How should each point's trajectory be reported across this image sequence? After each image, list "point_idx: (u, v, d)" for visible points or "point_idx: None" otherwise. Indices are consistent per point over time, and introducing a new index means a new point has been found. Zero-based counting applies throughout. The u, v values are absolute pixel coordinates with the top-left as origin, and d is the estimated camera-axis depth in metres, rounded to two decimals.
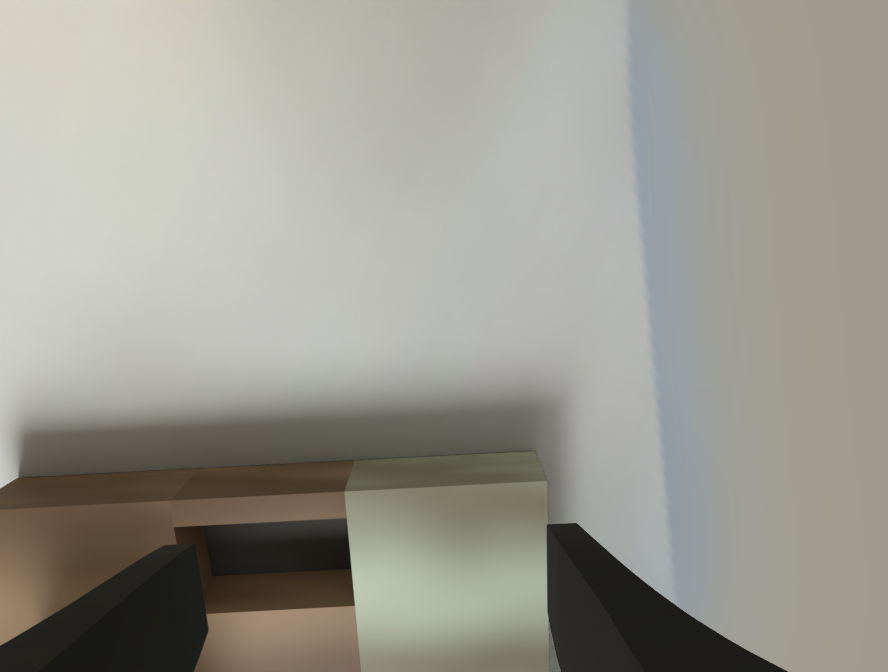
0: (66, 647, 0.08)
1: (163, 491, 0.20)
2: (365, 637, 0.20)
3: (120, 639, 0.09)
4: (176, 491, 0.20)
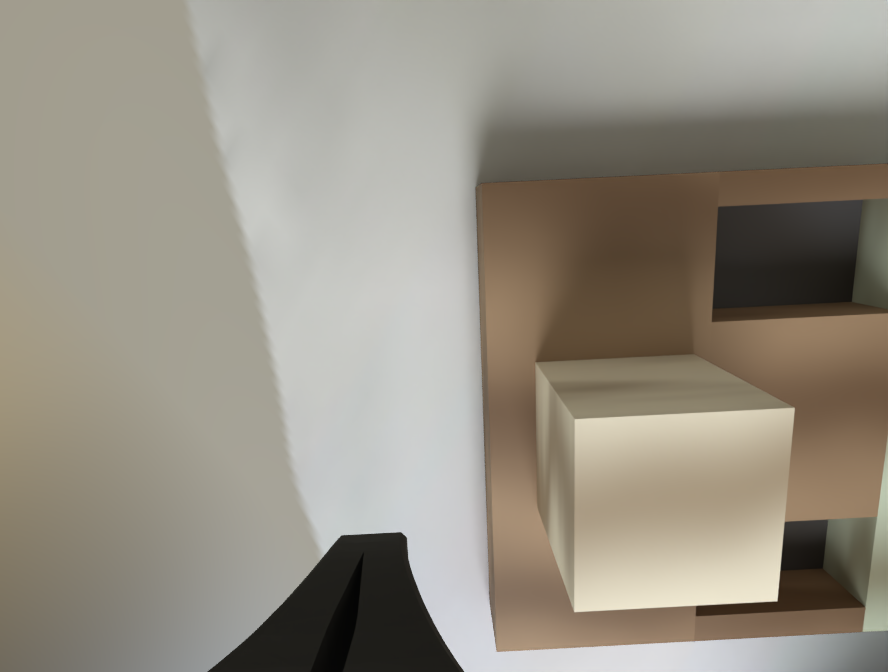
0: (322, 633, 0.08)
1: None
2: None
3: (345, 627, 0.09)
4: None
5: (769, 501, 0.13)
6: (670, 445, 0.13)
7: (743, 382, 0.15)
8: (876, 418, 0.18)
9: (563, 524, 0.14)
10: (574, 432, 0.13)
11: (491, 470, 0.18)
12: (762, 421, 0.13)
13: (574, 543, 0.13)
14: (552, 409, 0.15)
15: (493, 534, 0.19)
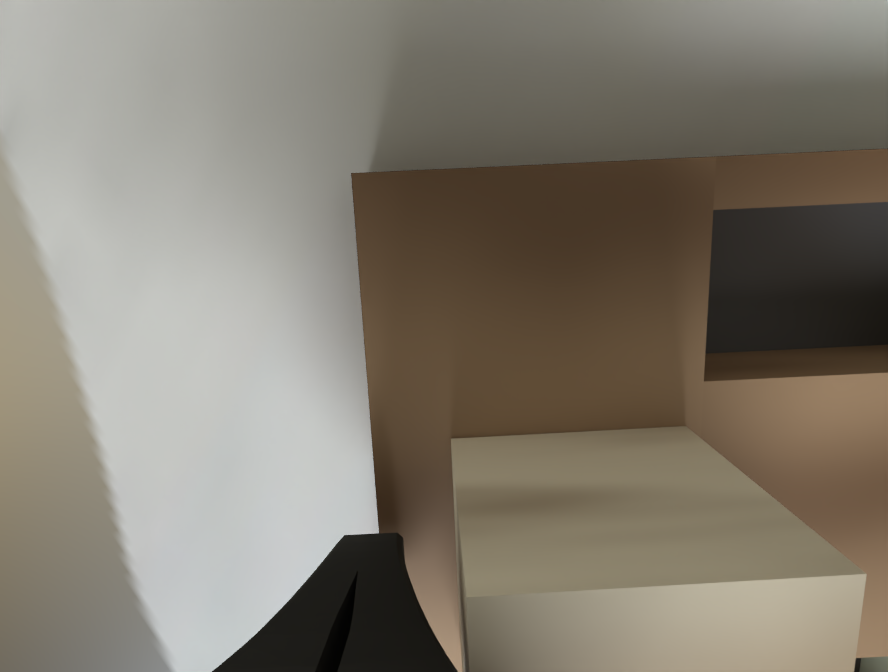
0: (326, 633, 0.08)
1: None
2: None
3: (349, 627, 0.09)
4: None
5: None
6: (643, 639, 0.07)
7: (765, 495, 0.09)
8: None
9: None
10: (468, 617, 0.07)
11: None
12: (807, 598, 0.07)
13: None
14: (458, 533, 0.09)
15: None
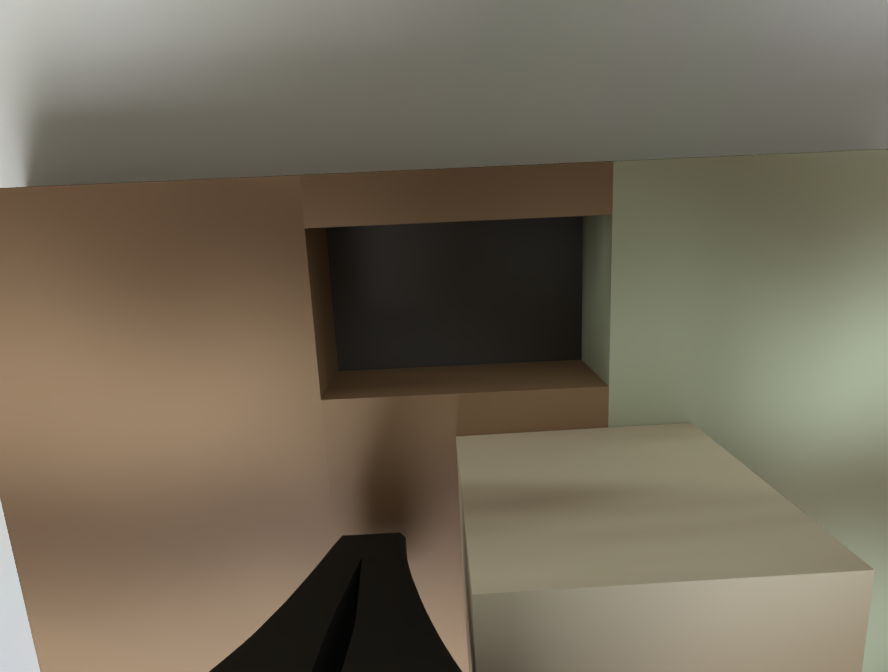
0: (323, 633, 0.08)
1: None
2: None
3: (346, 627, 0.09)
4: None
5: None
6: (649, 636, 0.07)
7: (772, 492, 0.09)
8: None
9: None
10: (474, 614, 0.07)
11: (28, 609, 0.13)
12: (815, 594, 0.07)
13: None
14: None
15: None
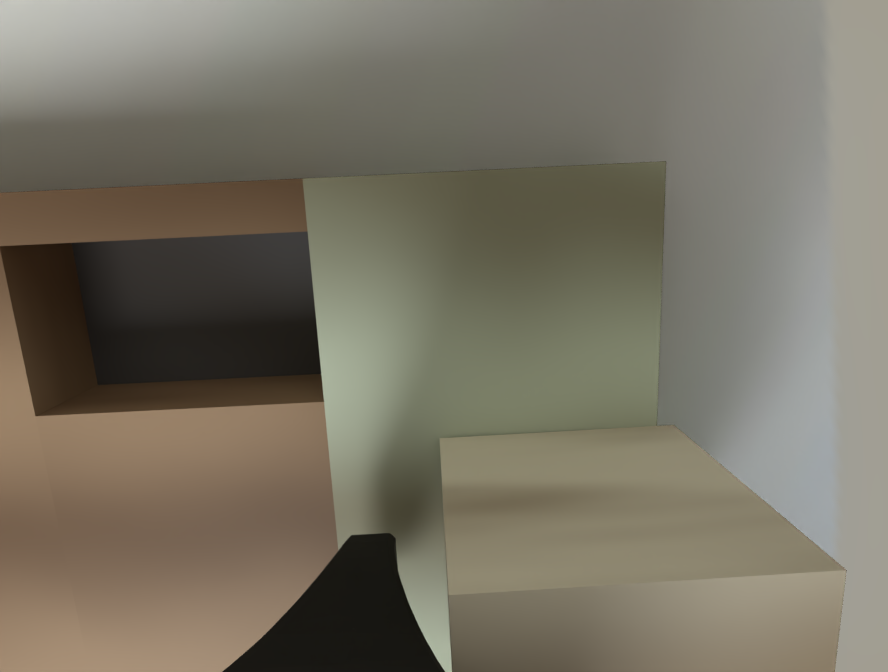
0: (336, 632, 0.08)
1: None
2: (342, 460, 0.12)
3: None
4: None
5: None
6: (625, 637, 0.07)
7: (750, 493, 0.09)
8: (318, 551, 0.12)
9: None
10: (450, 615, 0.07)
11: None
12: (788, 594, 0.07)
13: None
14: None
15: None
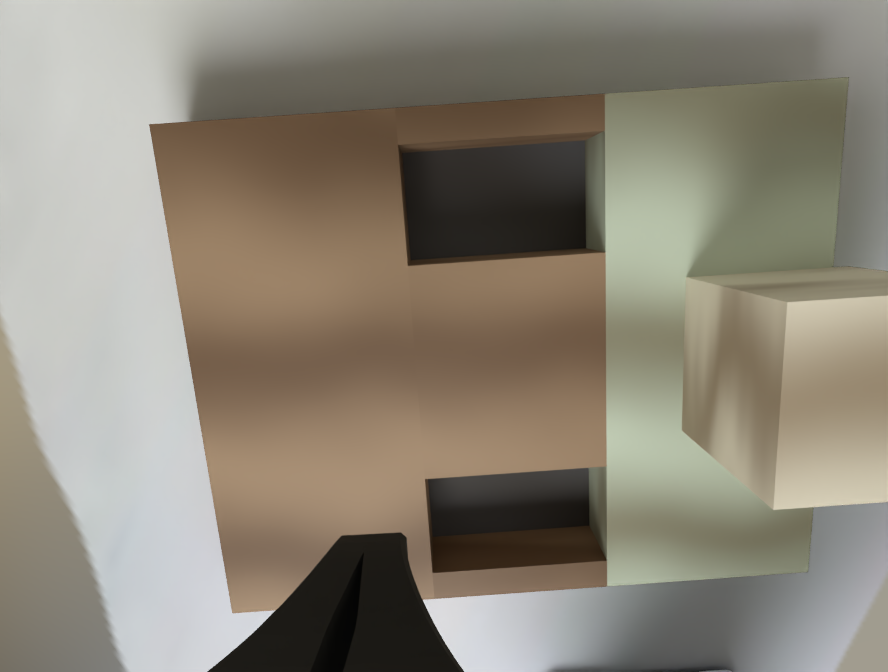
0: (322, 633, 0.08)
1: None
2: (614, 295, 0.17)
3: (345, 627, 0.09)
4: None
5: None
6: (884, 329, 0.12)
7: None
8: (592, 363, 0.18)
9: (750, 425, 0.14)
10: (784, 317, 0.12)
11: (201, 424, 0.18)
12: None
13: (777, 436, 0.13)
14: (728, 312, 0.15)
15: (213, 491, 0.18)
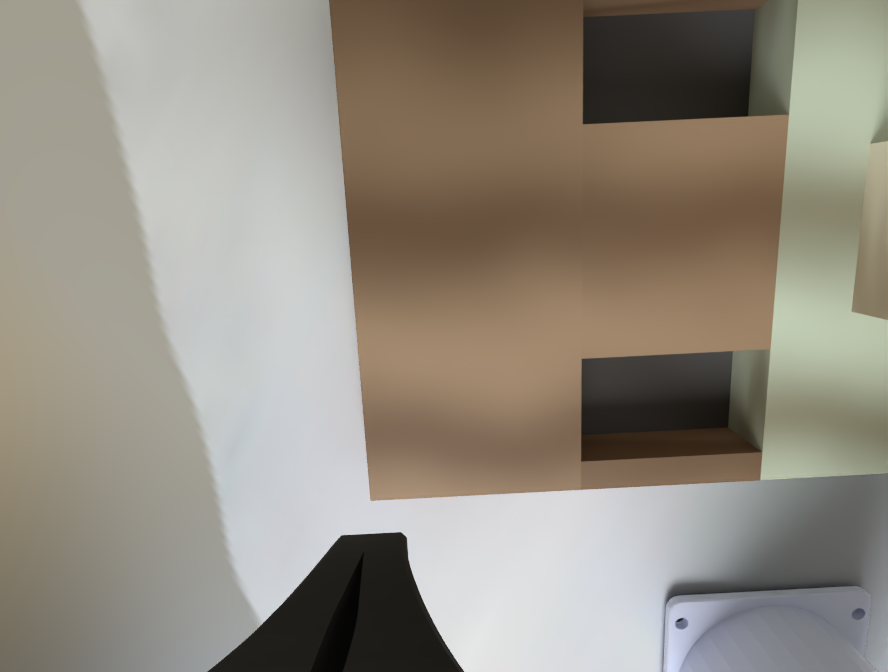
0: (322, 633, 0.08)
1: None
2: (794, 162, 0.16)
3: (345, 627, 0.09)
4: None
5: None
6: None
7: None
8: (765, 236, 0.17)
9: None
10: None
11: (354, 294, 0.17)
12: None
13: None
14: None
15: (360, 367, 0.18)
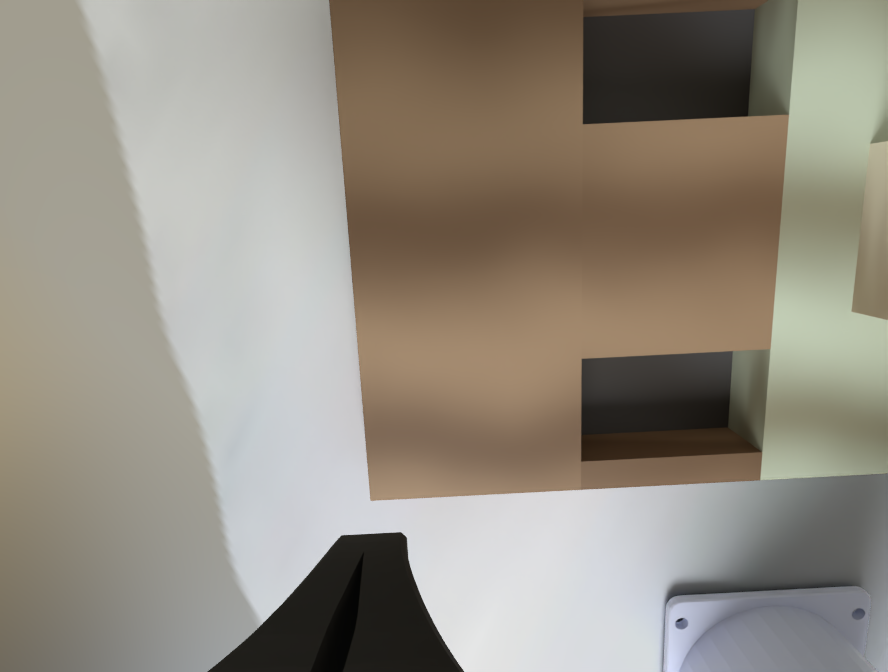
0: (322, 633, 0.08)
1: None
2: (794, 162, 0.16)
3: (345, 627, 0.09)
4: None
5: None
6: None
7: None
8: (765, 236, 0.17)
9: None
10: None
11: (354, 294, 0.17)
12: None
13: None
14: None
15: (360, 367, 0.18)
